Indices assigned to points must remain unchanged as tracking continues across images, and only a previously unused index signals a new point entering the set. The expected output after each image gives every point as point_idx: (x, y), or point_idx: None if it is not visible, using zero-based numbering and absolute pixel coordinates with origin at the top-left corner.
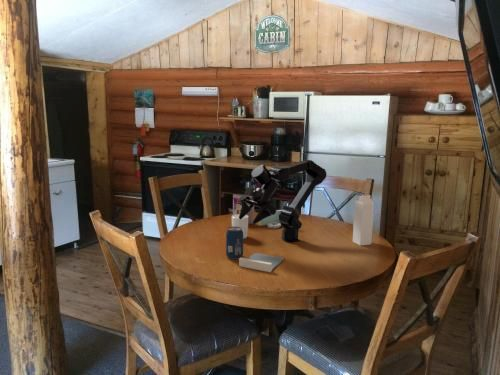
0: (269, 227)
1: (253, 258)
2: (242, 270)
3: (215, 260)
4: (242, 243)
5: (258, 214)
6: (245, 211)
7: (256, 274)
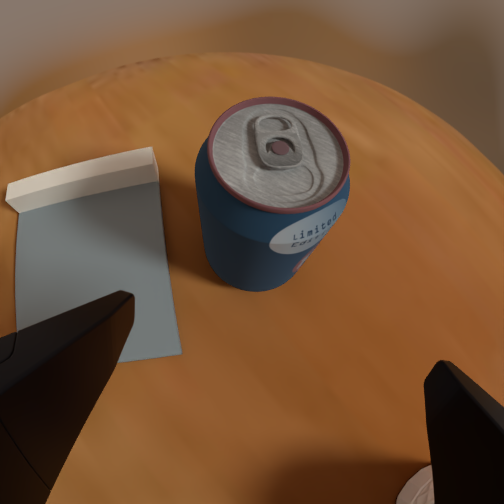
0: None
1: (137, 269)
2: (122, 146)
3: None
4: (201, 223)
5: (6, 352)
6: (467, 489)
7: (61, 153)
